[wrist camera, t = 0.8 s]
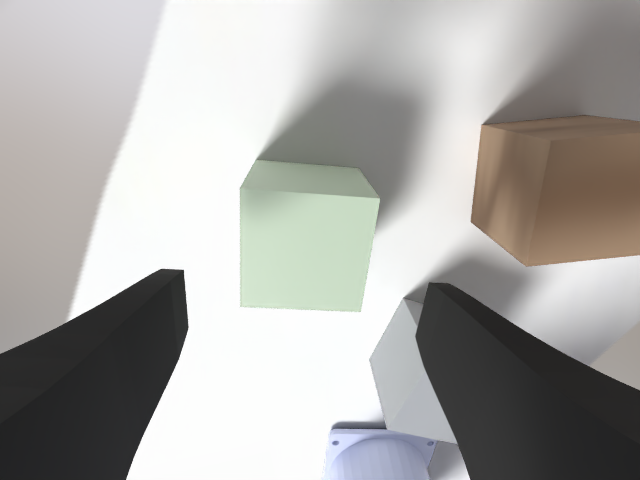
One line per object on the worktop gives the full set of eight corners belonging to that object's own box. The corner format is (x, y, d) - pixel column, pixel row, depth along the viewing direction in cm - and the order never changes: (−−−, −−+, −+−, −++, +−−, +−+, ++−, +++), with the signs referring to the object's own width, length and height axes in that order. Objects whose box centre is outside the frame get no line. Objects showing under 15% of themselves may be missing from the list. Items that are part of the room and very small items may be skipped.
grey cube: (435, 375, 23) (469, 446, 19) (369, 358, 22) (387, 429, 18) (474, 318, 21) (521, 382, 17) (402, 297, 20) (432, 358, 16)
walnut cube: (560, 212, 18) (645, 254, 14) (469, 221, 18) (526, 266, 14) (583, 115, 16) (692, 127, 12) (480, 124, 16) (551, 140, 12)
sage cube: (345, 257, 19) (360, 312, 14) (254, 252, 18) (240, 307, 14) (358, 167, 17) (380, 198, 12) (256, 159, 16) (239, 188, 12)
